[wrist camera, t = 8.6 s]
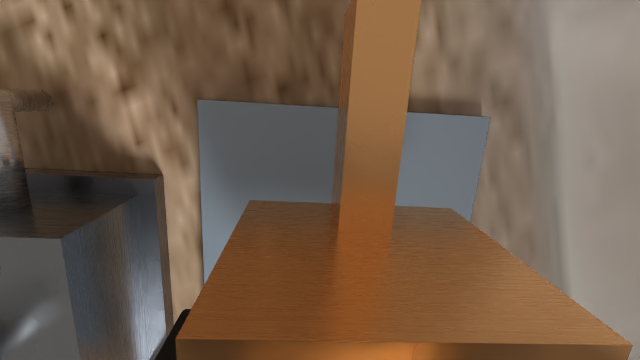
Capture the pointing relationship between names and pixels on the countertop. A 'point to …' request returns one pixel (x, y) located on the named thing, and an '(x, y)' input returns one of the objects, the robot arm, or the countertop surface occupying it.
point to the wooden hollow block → (379, 252)
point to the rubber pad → (320, 161)
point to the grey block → (78, 256)
